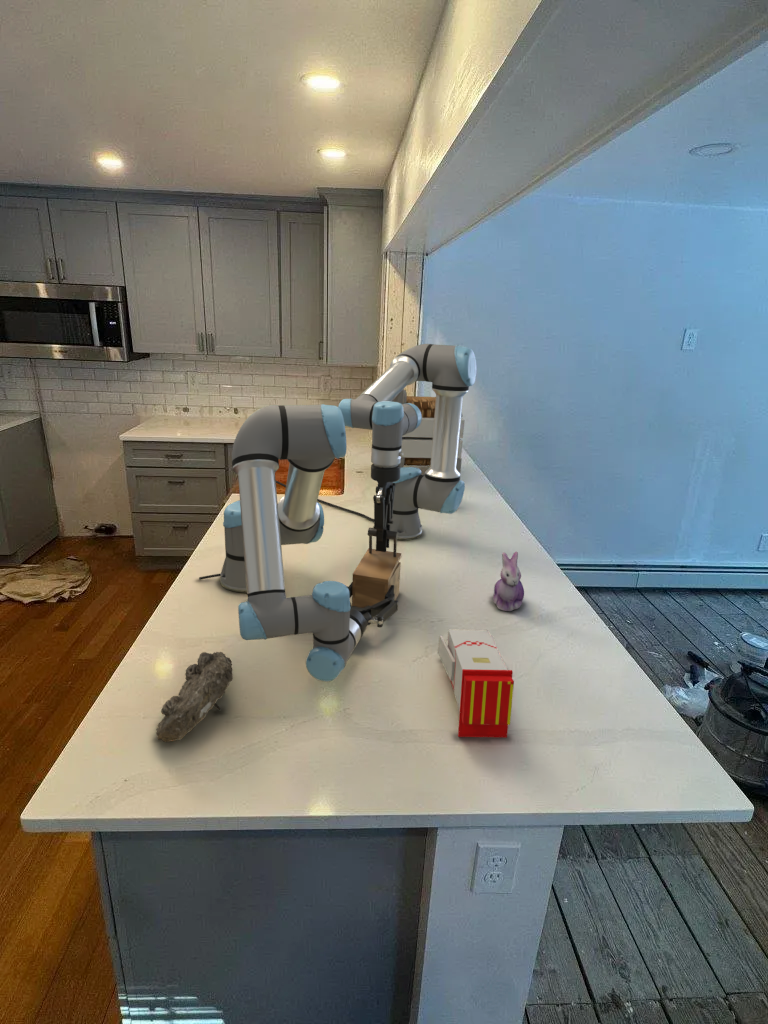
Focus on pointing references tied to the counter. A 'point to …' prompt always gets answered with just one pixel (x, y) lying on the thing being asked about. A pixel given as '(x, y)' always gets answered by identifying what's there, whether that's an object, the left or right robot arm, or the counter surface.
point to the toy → (478, 682)
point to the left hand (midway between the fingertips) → (373, 586)
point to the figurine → (509, 585)
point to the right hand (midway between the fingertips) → (382, 548)
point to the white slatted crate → (422, 433)
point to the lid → (378, 561)
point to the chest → (373, 589)
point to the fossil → (195, 695)
